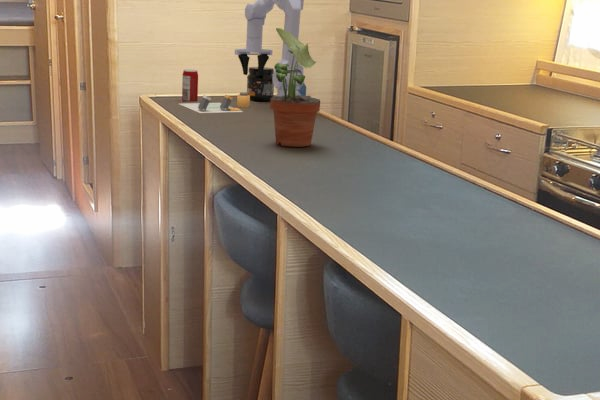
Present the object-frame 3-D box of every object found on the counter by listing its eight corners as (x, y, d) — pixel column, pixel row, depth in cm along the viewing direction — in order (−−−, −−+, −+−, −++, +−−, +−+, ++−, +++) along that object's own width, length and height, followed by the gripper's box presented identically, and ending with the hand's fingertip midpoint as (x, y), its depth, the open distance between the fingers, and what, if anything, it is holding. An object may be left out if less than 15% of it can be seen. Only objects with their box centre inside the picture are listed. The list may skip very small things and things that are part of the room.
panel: (243, 115, 302) (243, 110, 302) (199, 116, 295) (199, 111, 294) (219, 106, 319) (220, 101, 319) (177, 107, 311) (178, 102, 311)
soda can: (198, 102, 325) (199, 69, 322) (195, 104, 320) (196, 70, 317) (183, 101, 326) (184, 68, 323) (180, 103, 320) (181, 69, 317)
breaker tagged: (227, 111, 301) (233, 97, 301) (222, 109, 300) (229, 95, 300) (222, 110, 304) (229, 96, 304) (218, 108, 303) (225, 94, 303)
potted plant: (257, 146, 252) (263, 20, 243) (279, 138, 265) (285, 18, 257) (308, 153, 246) (316, 24, 237) (328, 144, 260) (336, 23, 251)
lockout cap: (251, 110, 313) (252, 93, 312) (240, 111, 311) (240, 93, 309) (246, 108, 317) (246, 91, 315) (234, 109, 315) (235, 92, 313)
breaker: (205, 112, 298) (211, 98, 297) (201, 110, 297) (207, 96, 296) (201, 110, 301) (207, 96, 300) (196, 108, 300) (203, 94, 300)
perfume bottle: (283, 102, 335) (284, 71, 332) (291, 101, 341) (292, 69, 338) (297, 104, 333) (299, 72, 330) (305, 103, 338) (307, 71, 335)
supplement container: (241, 97, 342) (243, 66, 339) (267, 97, 346) (268, 66, 344) (252, 101, 333) (253, 69, 330) (278, 101, 337) (279, 69, 335)
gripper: (267, 36, 333) (265, 73, 337) (231, 36, 326) (230, 73, 330) (275, 38, 327) (273, 75, 331) (239, 38, 320) (238, 75, 324)
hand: (252, 74), depth 330 cm, fingers open, 5 cm apart
